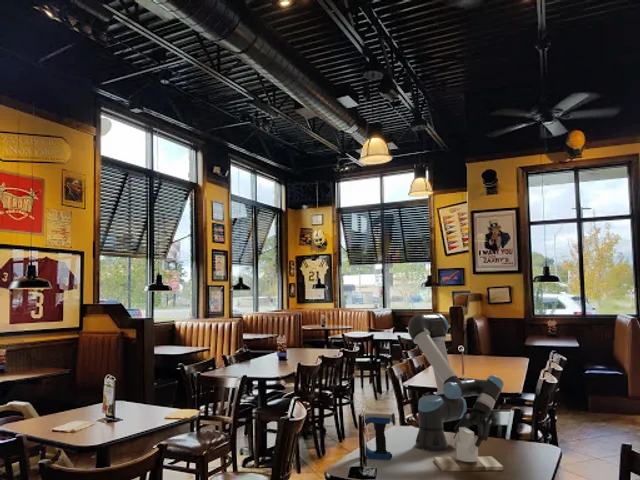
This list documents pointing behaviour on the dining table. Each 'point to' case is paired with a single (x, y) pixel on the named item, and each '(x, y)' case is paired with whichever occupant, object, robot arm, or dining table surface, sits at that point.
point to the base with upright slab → (466, 445)
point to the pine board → (467, 464)
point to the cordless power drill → (379, 434)
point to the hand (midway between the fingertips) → (462, 449)
